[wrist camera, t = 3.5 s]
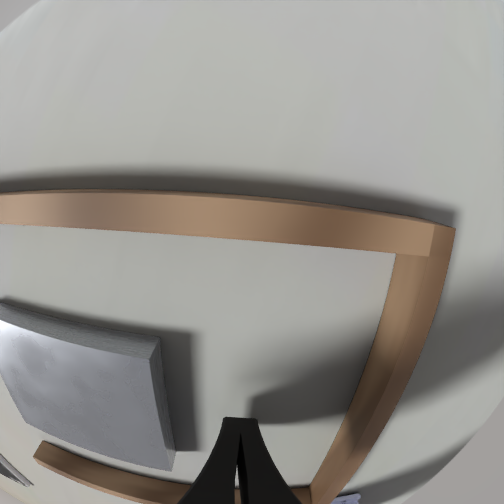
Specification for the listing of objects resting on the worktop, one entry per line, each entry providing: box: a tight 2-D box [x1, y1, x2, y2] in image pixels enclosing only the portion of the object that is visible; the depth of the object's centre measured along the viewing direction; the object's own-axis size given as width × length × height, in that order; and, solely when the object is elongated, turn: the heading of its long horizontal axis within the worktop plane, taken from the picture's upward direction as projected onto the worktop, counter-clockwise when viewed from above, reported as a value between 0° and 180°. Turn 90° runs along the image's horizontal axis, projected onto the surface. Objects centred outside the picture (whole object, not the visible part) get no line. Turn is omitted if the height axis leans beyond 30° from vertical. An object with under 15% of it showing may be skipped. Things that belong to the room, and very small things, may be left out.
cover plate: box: [0, 302, 176, 472], centre depth 10 cm, size 10×8×2 cm
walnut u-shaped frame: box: [0, 189, 456, 504], centre depth 10 cm, size 21×19×2 cm
